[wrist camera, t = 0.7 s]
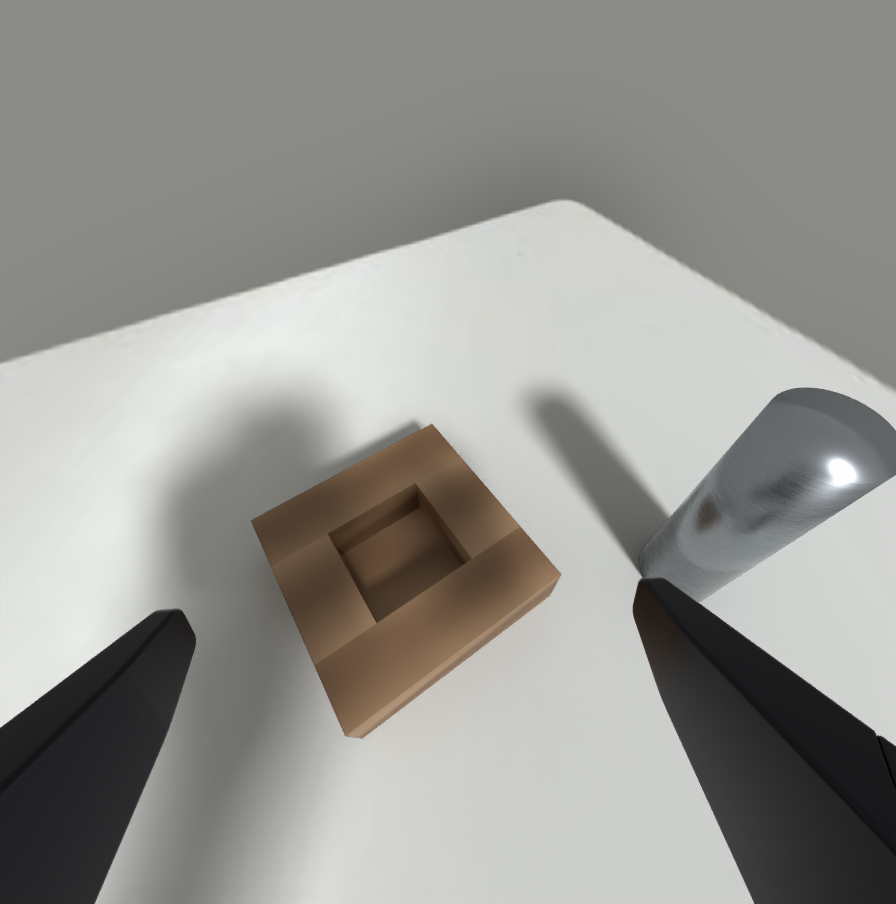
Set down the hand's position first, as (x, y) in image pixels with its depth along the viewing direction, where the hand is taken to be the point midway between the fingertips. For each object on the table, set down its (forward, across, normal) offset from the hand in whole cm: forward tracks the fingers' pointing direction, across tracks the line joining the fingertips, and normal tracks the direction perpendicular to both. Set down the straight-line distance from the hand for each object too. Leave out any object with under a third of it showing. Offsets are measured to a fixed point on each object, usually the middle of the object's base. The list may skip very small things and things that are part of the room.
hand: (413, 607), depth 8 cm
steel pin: (+12, -14, +12) cm, 22 cm away
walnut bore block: (+13, +2, +12) cm, 17 cm away
